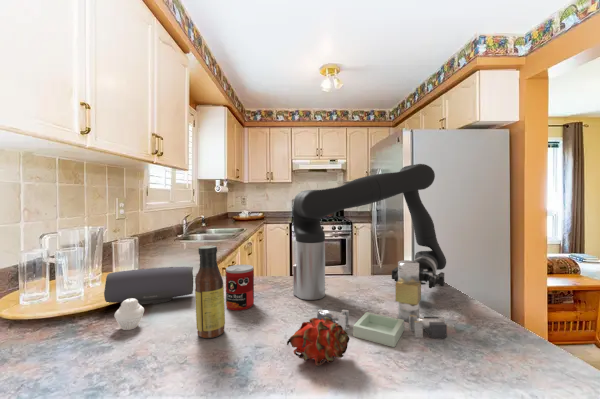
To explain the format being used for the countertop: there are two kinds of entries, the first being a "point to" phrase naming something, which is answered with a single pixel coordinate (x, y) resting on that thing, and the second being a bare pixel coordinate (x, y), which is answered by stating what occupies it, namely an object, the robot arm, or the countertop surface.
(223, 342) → the countertop surface
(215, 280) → the sauce bottle
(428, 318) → the shaft
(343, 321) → the shaft
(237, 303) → the canned food
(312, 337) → the dragon fruit
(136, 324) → the muffin
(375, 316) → the mint green tray
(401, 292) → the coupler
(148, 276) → the bluetooth speaker
